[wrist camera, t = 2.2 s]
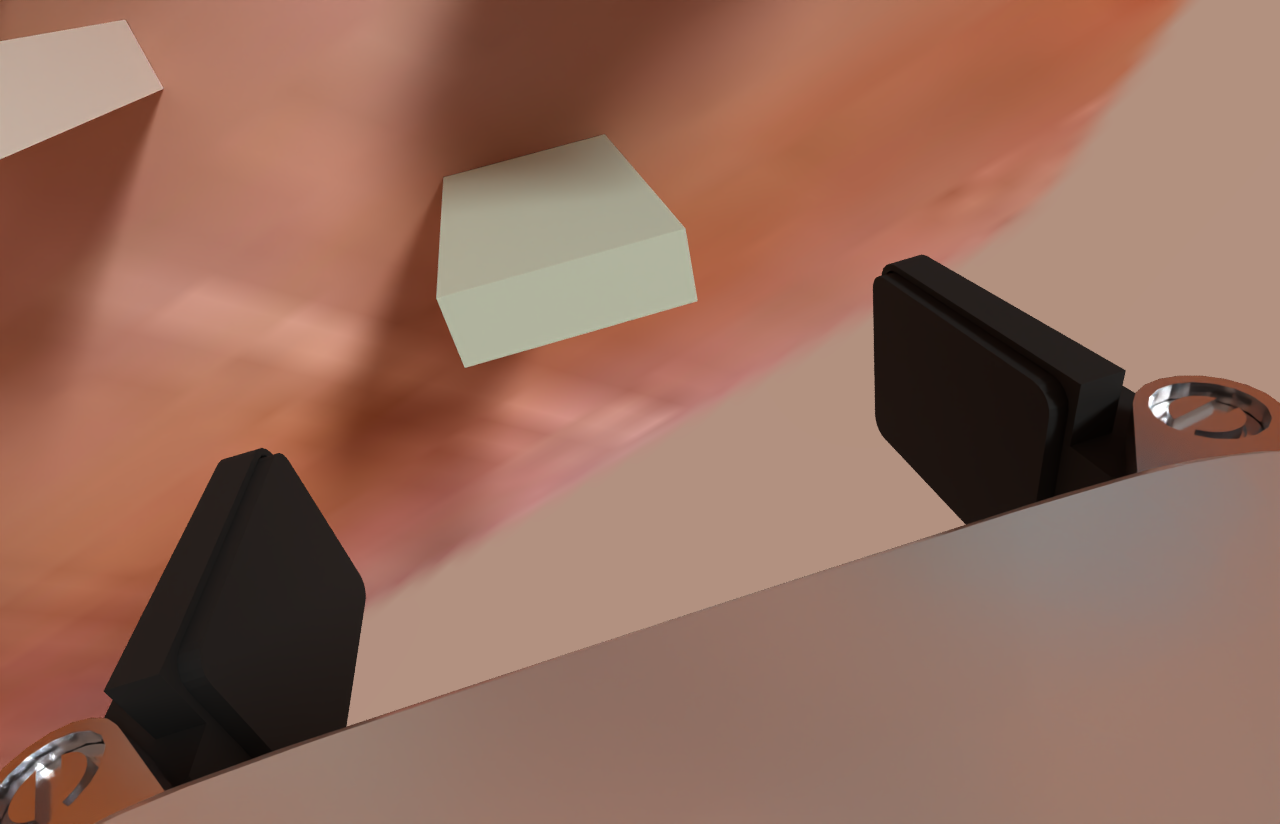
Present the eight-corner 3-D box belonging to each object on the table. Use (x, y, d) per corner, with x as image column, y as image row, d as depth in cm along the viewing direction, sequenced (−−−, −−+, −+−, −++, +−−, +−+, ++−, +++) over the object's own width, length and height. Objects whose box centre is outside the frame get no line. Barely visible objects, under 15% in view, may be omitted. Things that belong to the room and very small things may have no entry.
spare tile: (443, 177, 21) (436, 298, 13) (604, 134, 21) (684, 228, 14) (461, 228, 21) (465, 367, 14) (616, 186, 22) (697, 301, 14)
